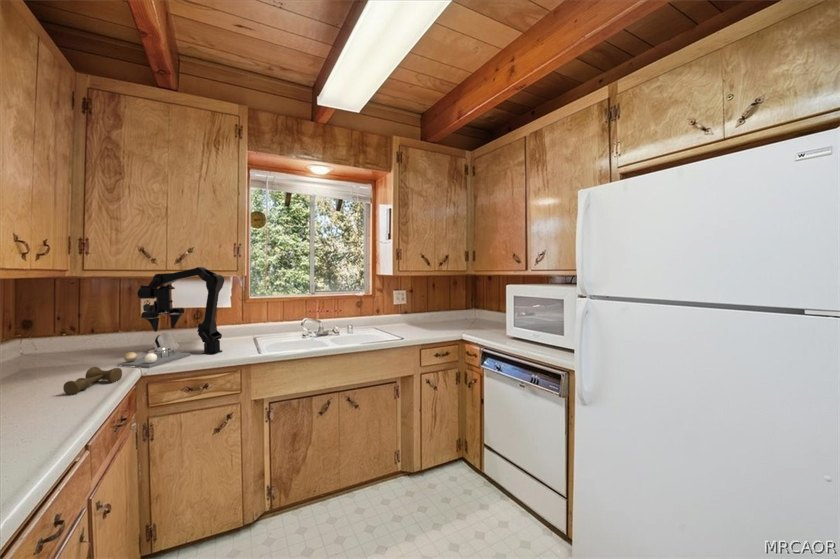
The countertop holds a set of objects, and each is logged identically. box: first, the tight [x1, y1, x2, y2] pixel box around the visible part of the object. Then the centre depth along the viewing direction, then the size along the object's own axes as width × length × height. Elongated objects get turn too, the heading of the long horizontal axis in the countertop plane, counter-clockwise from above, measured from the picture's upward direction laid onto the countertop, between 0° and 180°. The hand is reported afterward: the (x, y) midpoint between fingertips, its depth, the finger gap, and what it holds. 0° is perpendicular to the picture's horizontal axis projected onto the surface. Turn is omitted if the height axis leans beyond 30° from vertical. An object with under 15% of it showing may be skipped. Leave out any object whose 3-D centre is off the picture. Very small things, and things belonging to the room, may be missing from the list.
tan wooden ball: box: [123, 351, 138, 362], centre depth 155 cm, size 4×4×4 cm
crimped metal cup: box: [147, 348, 177, 358], centre depth 166 cm, size 10×10×2 cm
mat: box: [118, 352, 192, 369], centre depth 161 cm, size 16×21×1 cm
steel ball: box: [157, 346, 168, 352], centre depth 166 cm, size 4×4×4 cm
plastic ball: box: [144, 353, 157, 363], centre depth 153 cm, size 4×4×4 cm
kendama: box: [62, 366, 123, 396], centre depth 128 cm, size 6×10×20 cm
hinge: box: [151, 332, 180, 350], centre depth 181 cm, size 17×5×10 cm, turn 20°
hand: (164, 329), depth 174 cm, fingers open, 9 cm apart
